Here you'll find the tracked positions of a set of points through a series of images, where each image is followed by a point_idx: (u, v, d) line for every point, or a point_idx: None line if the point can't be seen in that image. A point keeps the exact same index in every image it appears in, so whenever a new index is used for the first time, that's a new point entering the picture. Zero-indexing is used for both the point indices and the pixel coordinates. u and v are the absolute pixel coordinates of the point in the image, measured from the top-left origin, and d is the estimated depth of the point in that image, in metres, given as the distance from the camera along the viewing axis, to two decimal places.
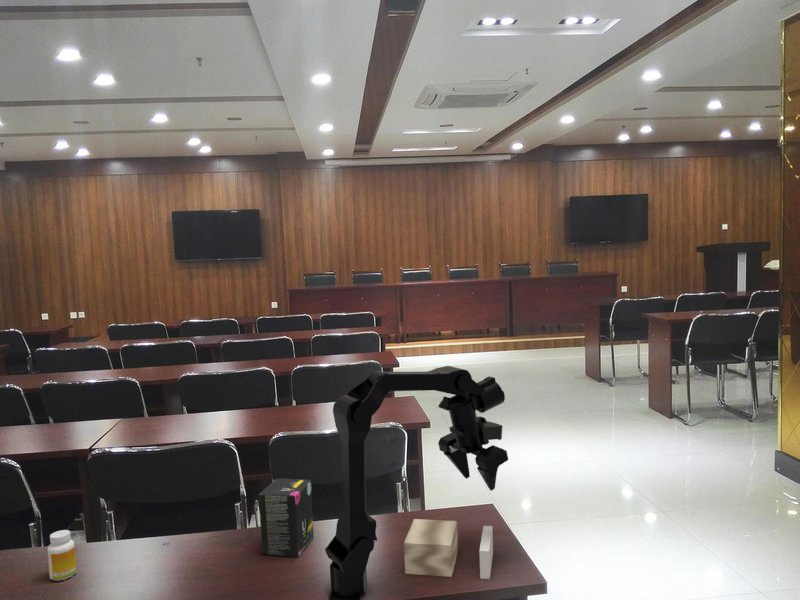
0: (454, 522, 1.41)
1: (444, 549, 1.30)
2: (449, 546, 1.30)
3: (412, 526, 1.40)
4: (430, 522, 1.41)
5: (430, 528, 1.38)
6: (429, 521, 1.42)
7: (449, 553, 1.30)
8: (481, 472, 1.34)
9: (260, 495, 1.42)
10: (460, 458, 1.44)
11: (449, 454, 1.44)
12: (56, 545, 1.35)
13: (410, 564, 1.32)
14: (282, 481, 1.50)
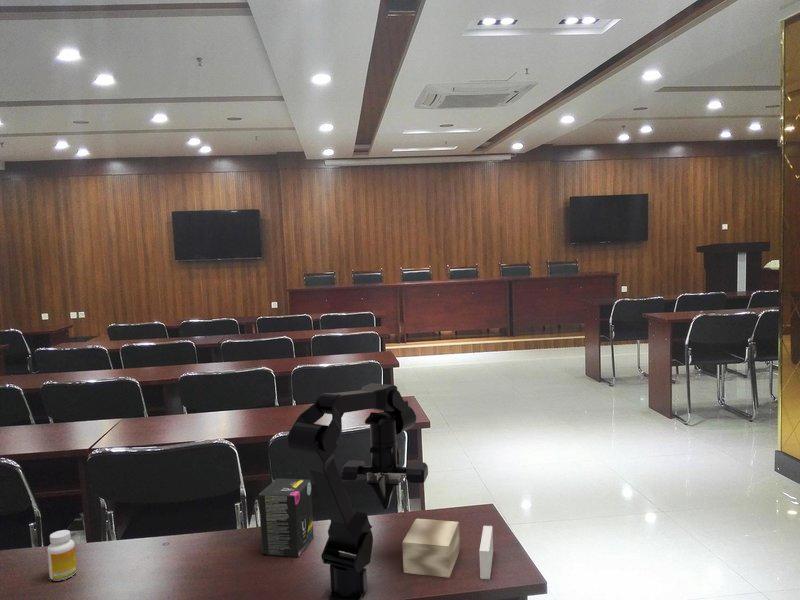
0: (455, 523, 1.41)
1: (442, 550, 1.30)
2: (447, 547, 1.30)
3: (413, 526, 1.40)
4: (431, 522, 1.41)
5: (430, 528, 1.38)
6: (431, 521, 1.42)
7: (447, 554, 1.30)
8: (389, 487, 1.35)
9: (260, 495, 1.42)
10: (382, 487, 1.38)
11: (376, 482, 1.36)
12: (56, 545, 1.35)
13: (409, 563, 1.32)
14: (282, 481, 1.50)
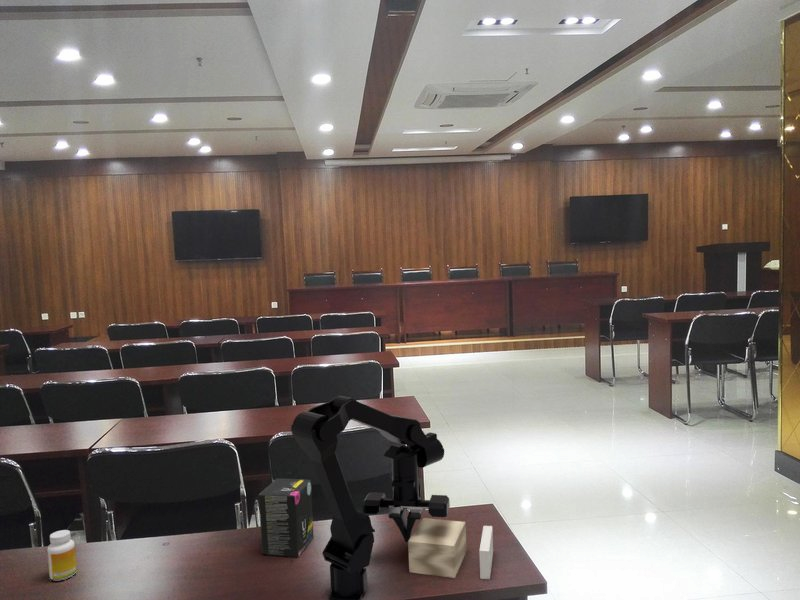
0: (462, 523, 1.40)
1: (447, 549, 1.30)
2: (452, 547, 1.30)
3: (420, 525, 1.40)
4: (438, 522, 1.41)
5: (437, 528, 1.38)
6: (437, 521, 1.42)
7: (452, 554, 1.30)
8: (411, 521, 1.35)
9: (260, 495, 1.42)
10: (404, 520, 1.38)
11: (399, 516, 1.35)
12: (56, 545, 1.35)
13: (414, 562, 1.32)
14: (282, 481, 1.50)
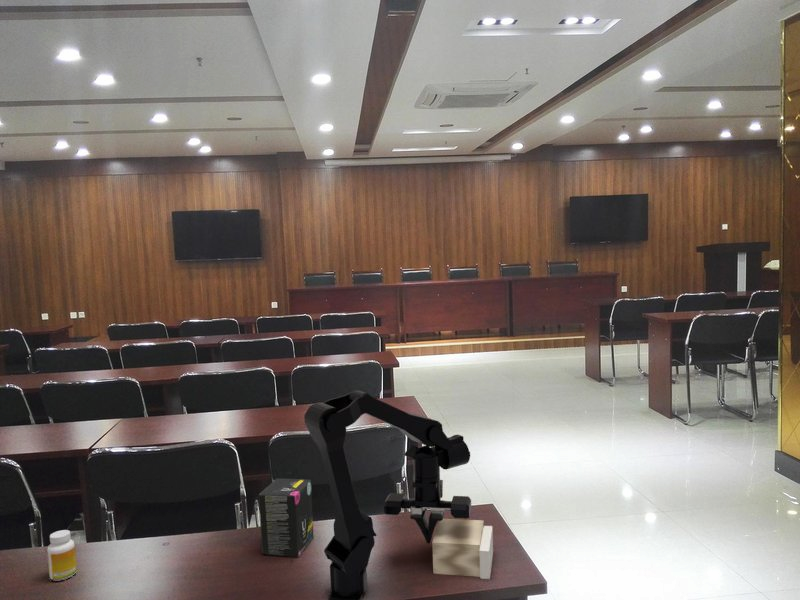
0: (481, 521, 1.41)
1: (473, 549, 1.30)
2: (478, 545, 1.30)
3: (439, 526, 1.39)
4: (456, 522, 1.41)
5: (457, 528, 1.38)
6: (455, 520, 1.42)
7: (478, 553, 1.30)
8: (432, 522, 1.34)
9: (260, 495, 1.42)
10: (426, 521, 1.37)
11: (420, 517, 1.34)
12: (56, 545, 1.35)
13: (439, 563, 1.32)
14: (282, 481, 1.50)
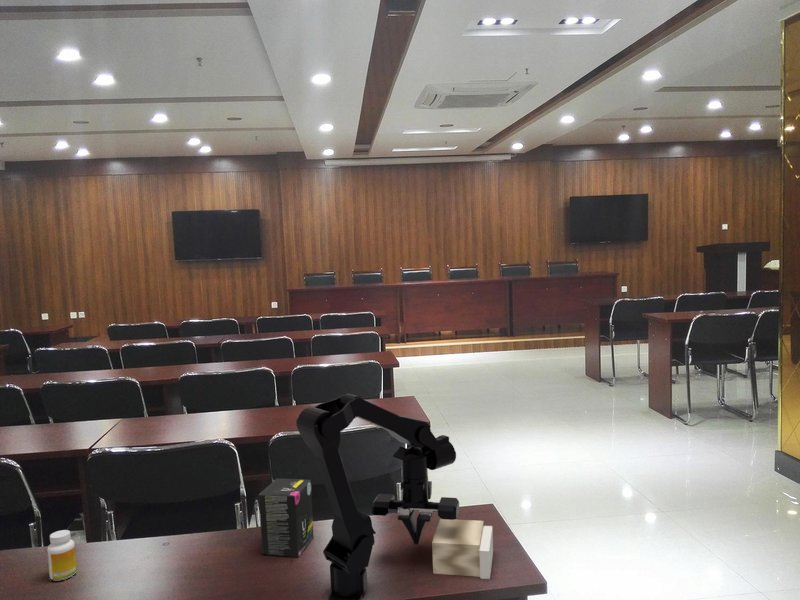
0: (481, 522, 1.41)
1: (472, 549, 1.30)
2: (478, 546, 1.30)
3: (439, 526, 1.39)
4: (456, 522, 1.41)
5: (457, 528, 1.38)
6: (455, 521, 1.42)
7: (478, 553, 1.30)
8: (420, 523, 1.34)
9: (260, 495, 1.42)
10: (413, 522, 1.37)
11: (408, 518, 1.35)
12: (56, 545, 1.35)
13: (438, 564, 1.32)
14: (282, 481, 1.50)
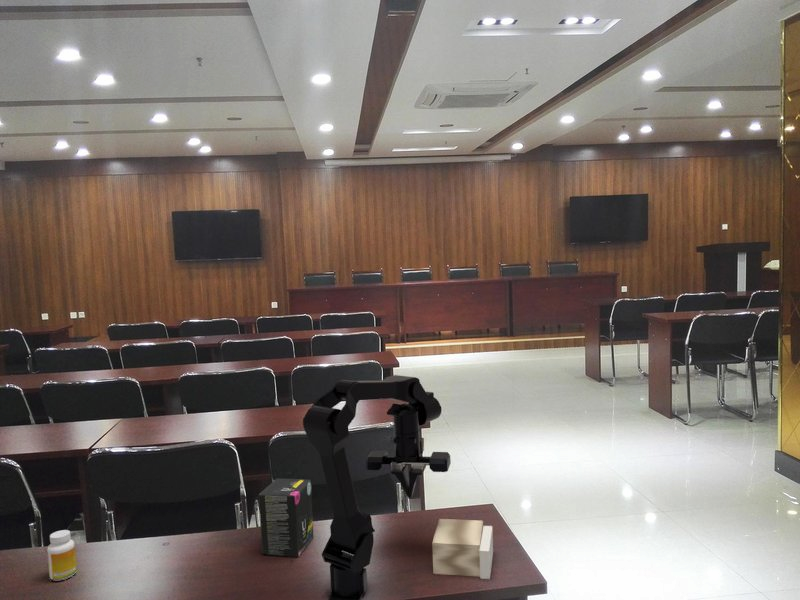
0: (480, 522, 1.41)
1: (473, 549, 1.30)
2: (478, 546, 1.30)
3: (439, 526, 1.39)
4: (456, 522, 1.41)
5: (457, 528, 1.38)
6: (455, 521, 1.42)
7: (478, 553, 1.30)
8: (413, 477, 1.38)
9: (260, 495, 1.42)
10: (406, 476, 1.41)
11: (400, 471, 1.39)
12: (56, 545, 1.35)
13: (439, 564, 1.32)
14: (282, 481, 1.50)
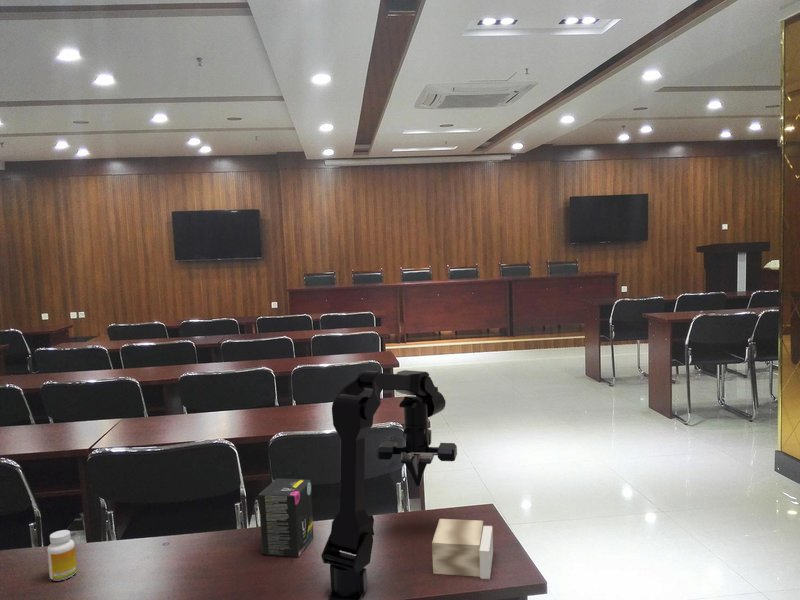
0: (480, 522, 1.41)
1: (472, 549, 1.30)
2: (478, 546, 1.30)
3: (439, 526, 1.39)
4: (456, 522, 1.41)
5: (457, 528, 1.38)
6: (455, 521, 1.42)
7: (478, 553, 1.30)
8: (421, 466, 1.47)
9: (260, 495, 1.42)
10: (415, 465, 1.50)
11: (410, 461, 1.47)
12: (56, 545, 1.35)
13: (438, 564, 1.32)
14: (282, 481, 1.50)
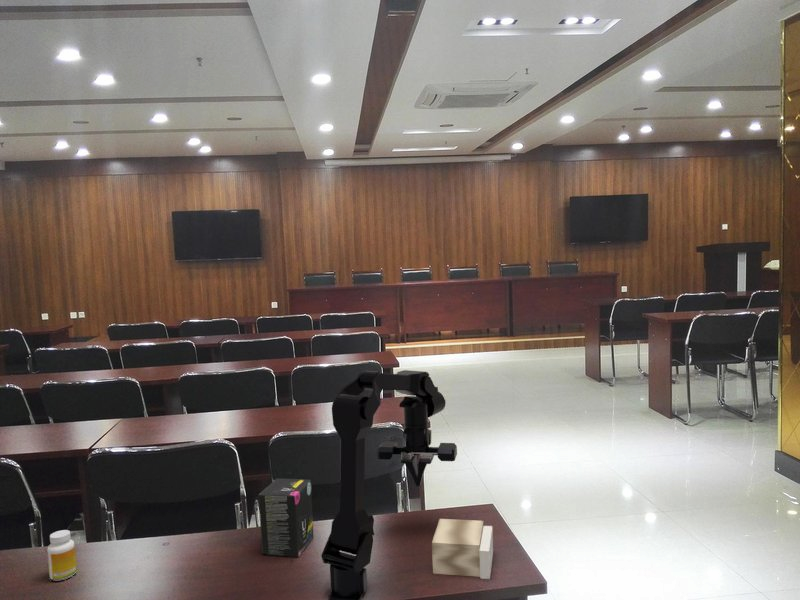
0: (480, 522, 1.41)
1: (472, 549, 1.30)
2: (478, 546, 1.30)
3: (439, 526, 1.39)
4: (456, 522, 1.41)
5: (457, 528, 1.38)
6: (455, 521, 1.42)
7: (477, 553, 1.30)
8: (421, 466, 1.47)
9: (260, 495, 1.42)
10: (415, 465, 1.50)
11: (410, 461, 1.47)
12: (56, 545, 1.35)
13: (438, 563, 1.32)
14: (282, 481, 1.50)
